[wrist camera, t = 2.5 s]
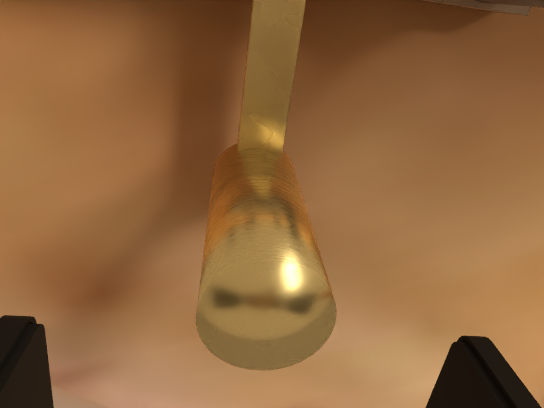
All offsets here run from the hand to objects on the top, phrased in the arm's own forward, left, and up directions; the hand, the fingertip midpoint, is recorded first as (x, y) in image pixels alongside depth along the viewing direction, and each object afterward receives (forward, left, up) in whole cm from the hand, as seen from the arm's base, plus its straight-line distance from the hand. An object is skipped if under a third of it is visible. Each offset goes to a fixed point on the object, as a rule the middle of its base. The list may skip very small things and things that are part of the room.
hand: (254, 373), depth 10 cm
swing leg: (-5, 0, -10) cm, 12 cm away
